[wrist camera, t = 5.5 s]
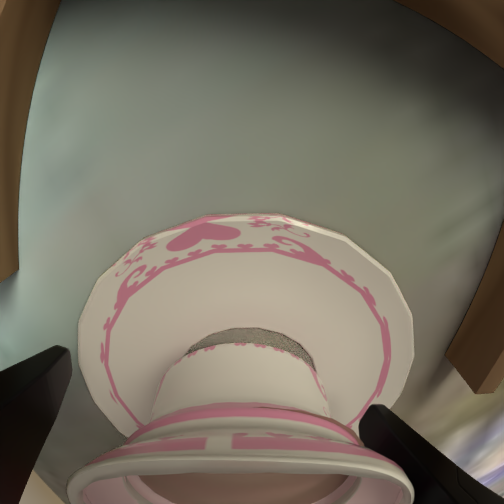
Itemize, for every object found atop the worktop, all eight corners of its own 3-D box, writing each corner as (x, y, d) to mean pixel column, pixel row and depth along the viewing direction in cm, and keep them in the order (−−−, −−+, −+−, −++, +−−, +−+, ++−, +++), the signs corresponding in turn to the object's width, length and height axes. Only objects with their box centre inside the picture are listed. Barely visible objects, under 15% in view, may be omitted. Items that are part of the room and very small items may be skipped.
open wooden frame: (546, 81, 7) (618, 83, 3) (463, 355, 11) (512, 417, 7) (69, -67, 5) (16, -118, 1) (-5, 261, 9) (-77, 312, 5)
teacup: (35, 249, 9) (-97, 353, 3) (413, 181, 8) (586, 252, 3) (150, 470, 13) (132, 572, 7) (391, 439, 12) (431, 540, 7)
